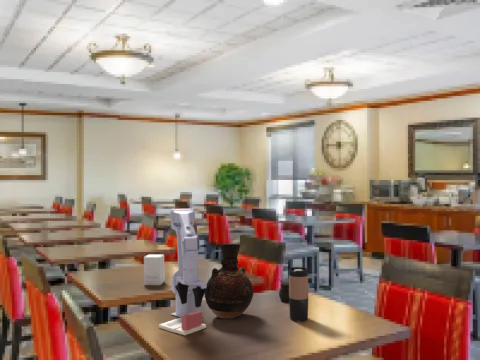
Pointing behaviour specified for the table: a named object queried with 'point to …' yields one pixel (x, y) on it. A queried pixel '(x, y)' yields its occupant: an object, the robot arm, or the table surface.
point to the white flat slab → (171, 325)
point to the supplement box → (154, 269)
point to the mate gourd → (284, 291)
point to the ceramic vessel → (229, 286)
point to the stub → (191, 323)
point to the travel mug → (298, 293)
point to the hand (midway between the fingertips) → (191, 305)
